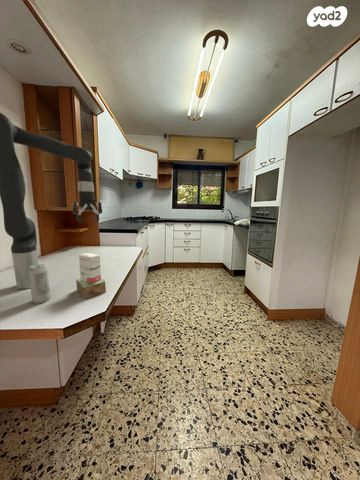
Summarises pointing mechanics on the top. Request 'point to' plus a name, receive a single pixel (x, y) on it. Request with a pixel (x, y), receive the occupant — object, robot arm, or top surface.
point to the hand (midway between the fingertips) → (88, 221)
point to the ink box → (90, 267)
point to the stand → (90, 288)
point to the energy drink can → (39, 283)
